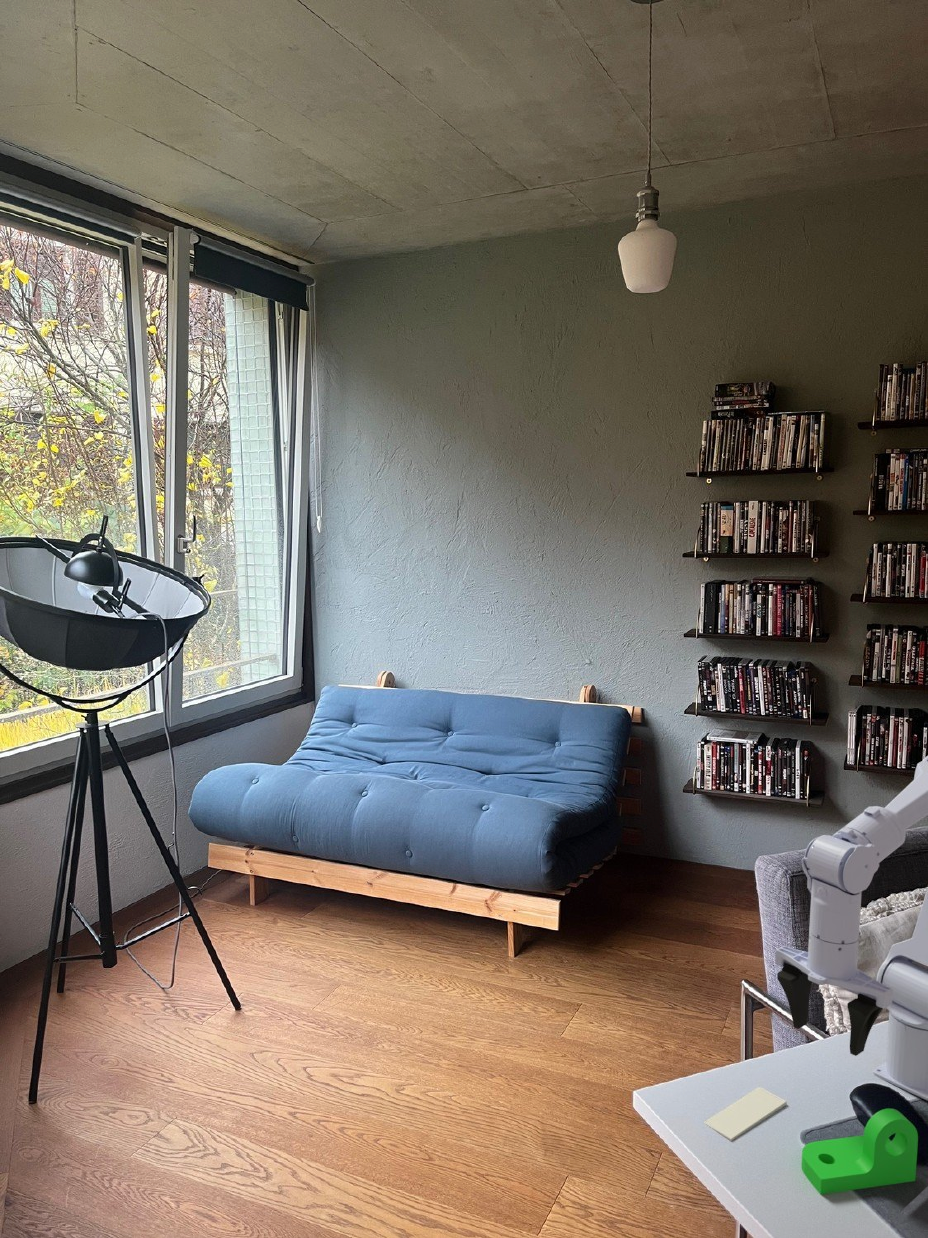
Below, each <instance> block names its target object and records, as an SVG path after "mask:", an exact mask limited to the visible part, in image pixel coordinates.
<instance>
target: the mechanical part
mask: <svg viewBox="0 0 928 1238" xmlns="http://www.w3.org/2000/svg"><path fill="white" fill-rule="evenodd" d="M863 1130H864V1131H863V1134H861V1135H855V1136H848V1137H841V1138H834V1139H825V1140H817V1141H812V1142H809V1143H807V1144H805V1145H804V1146H803V1148H802V1149H801V1151H802V1152H801V1164H800V1165H801V1170H802V1172H803V1174H804V1175H805V1178H806V1179H807V1180H808V1181H809V1182H810V1184H811V1185H812V1186H813V1188H814V1189H815V1190H816V1191H817V1192H818V1194H819V1195H825V1194H833V1193H840V1192H846V1191H847V1192H848V1191H854V1190H861V1189H869V1188H874V1187H875V1188H876V1187H881V1186H882V1187H883V1186H889V1185H896V1184H902V1183H911V1182H915V1181H916V1177H917V1176H916V1173H917V1159H918V1145H919V1143H918V1142H919V1135H918V1134H919V1133H918V1130H917V1128H916V1126H915V1125H914V1124H913V1123H912V1122H911V1121H910V1120H909V1119H907V1117H905V1116H904V1114H903V1113H901V1112H900V1111H899V1110H897V1109H895V1108H884V1109H881V1110H879V1111H877V1112H875V1113H874V1114H873V1115H871V1117H870V1118H869V1119H868V1121H867V1123H866V1125H865V1127H864V1129H863ZM892 1135H894V1137H893V1138H892V1140H891V1139H890V1137H891V1136H892Z"/></svg>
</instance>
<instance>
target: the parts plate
mask: <svg viewBox="0 0 928 1238" xmlns="http://www.w3.org/2000/svg"><path fill="white" fill-rule="evenodd" d="M787 1103H788V1102H787V1100H785V1099H783V1098H781V1097H779V1096H777V1095H776V1094H774V1093H772V1092H770V1091H768V1090H766V1089H765V1088H763V1087H761V1086H758V1087H756V1088H755V1089H753V1090H752V1091H750V1092H749V1093H747V1094H745V1095H743V1097H741V1098H740V1099H738V1100H736V1101H735V1102H733V1103H731V1104H730V1105H728V1106H727V1107H725V1108H723V1109H722V1110H720V1111H719V1112H717V1113H716V1114H714V1115H712V1116H711V1117H710V1118H708V1119H706V1120H705V1121H703V1124H705V1125H706V1126H708V1127H709V1128H711V1129H712V1130H713V1131H714V1132H717V1133H718V1134H719V1135H720V1136H722V1137H725V1139H727V1140H728V1141H731V1142H732V1141H733V1140H735V1139H736V1138H738V1137H739V1136H741V1135H742V1134H744V1133H746V1132H747V1131H749V1130H750V1129H752V1128H753V1127H754V1126H756V1125H758V1124H760V1123H761V1122H762V1121H764V1120H765V1119H766V1118H768V1117H770V1116H771V1115H773V1114H775V1113H776V1112H777V1111H779V1110H780V1109H782V1108H783V1107H785V1106H787ZM706 1121H707V1122H706Z"/></svg>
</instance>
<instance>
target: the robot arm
mask: <svg viewBox="0 0 928 1238" xmlns="http://www.w3.org/2000/svg"><path fill="white" fill-rule="evenodd" d="M927 816H928V755H927V756H925V757H924V758H923V759H922V761H920V762H918V763H917V764H916V767H915V771H914V777H913V780H912V781H911V782H910V783H909V784H908V785H907V786H906V787H905V788H903V790H902V791H900V792H899V793H898V794H897V796H895V797H894V798H893V799H892V800H891V801H890V802H889V803H888V804H886V805H885V807H883V806H878V805H875V806H874V805H873V806H868V807H866V808H865V809H864V810H863V812H862V813H860V814H858V815H857V816H856V817H855V818H854V819H852V820H851V821H850V822H848V823H847V824H845V825H844V826H842V828H840V829H839V830H838V831H836V832H835V833H833V835H829V834H823V835H820V836H816V837H815V838H813V839H811V841H809V844H807V847H806V849H805V852H804V856H803V857H802V858H801V866H802V870H803V873H804V874H805V876H806V878H807V880H806V882H807V883H806V885H807V887H806V889H808V891H809V893H810V909H809V928H808V930H809V931H808V945H807V946H808V947H807V951H806V950H805V951H804V950H800V949H796V948H793V947H789V946H786V945H783V946H781V947H779V948H776V949H775V956H774V957H775V962H774V963H775V964H776V965H778V966H780V967H782V968H781V970H780V971H778V972H777V975H776V976H777V981H778V982H779V984H780V986H781V987H782V989H783V992H784V994H785V996H786V1000H787V1003H788V1006H789V1010H790V1013H791V1019H792V1023H793V1027H794V1029H795V1028H796V1029H797V1030H800V1029H801V1028H803V1027H804V1026H805V1025H807V1024H808V1019H809V1011H810V995H811V991H812V984H813V983H814V984H816V985H819V986H825V985H829V986H834V987H837V988H839V989H842V990H845V991H847V992H848V993H852V994H854V995H857V998H854V999H852V1000H850V1001H849V1002H847V1004H846V1005H847V1006H846V1007H847V1011H848V1014H849V1015H848V1016H849V1021H850V1022H849V1023H850V1024H849V1025H850V1035H849V1037H850V1038H849V1054H851V1055H852V1056H855V1057H857V1056H859V1055H860V1054H861V1053H863V1052H864V1051H865V1047H866V1044H867V1041H868V1037H869V1034H870V1033H871V1030H872V1027H874V1024H875V1022H876V1020H877V1018H878V1017H879V1015H880V1014H881V1012H882V1011H883V1010H885V1009H886V1010H888V1024H887V1025H888V1027H887V1029H888V1030H887V1042H886V1043H887V1044H886V1045H887V1046H886V1059H885V1061H884V1062H883V1063H882V1064H880V1065H878V1067H876V1068H874V1069H873V1070H872V1074H873V1075H874V1076H875V1077H877V1078H880V1079H881V1080H884V1081H886V1082H887V1083H889V1084H892V1085H893V1086H896V1087H898V1088H900V1089H902V1090H904V1091H906V1092H908V1093H911V1094H913V1095H915V1096H917V1097H919V1098H921V1099H923V1100H926V1101H928V969H927V968H925V967H923V966H926V967H928V887H927V889H926V892H925V895H924V899H923V902H922V905H921V908H920V911H919V914H918V917H917V920H916V921H917V922H916V923H915V928H914V930H913V933H912V937H910V938H909V939H905V940H902V941H899V942H897V943H894V944H892V945H891V946H890V949H889V952H888V954H887V956H886V958H885V960H884V961H883V962H882V963H881V964H880V967H879V969H878V971H877V974H876V979H875V978H873V977H872V976H871V975H868V974H867V973H866V972H865V971H864V972H863V971H862V970H861V969H859V968H858V957H859V942H860V923H861V922H860V921H861V907H862V905H861V904H862V892H863V891H866V890H867V889H868V887H869V886H870V884H871V883H872V880H873V877H874V874H875V873H876V872H877V871H878V869H879V868H880V863H881V862H882V861H883V860H884V859H886V858H887V857H888V856H890V855H891V854H892V853H894V851H896V850H897V849H898V848H900V847H901V846H902V845H903V844H904V843H905V841H906V830H907V829H909V828H911V826H913V825H915V824H916V823H918V822H919V821H921V820H922V819H924V818H925V817H927ZM915 962H917V963H919V964H921V965H923V966H921V965H919V964H917V963H915Z"/></svg>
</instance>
